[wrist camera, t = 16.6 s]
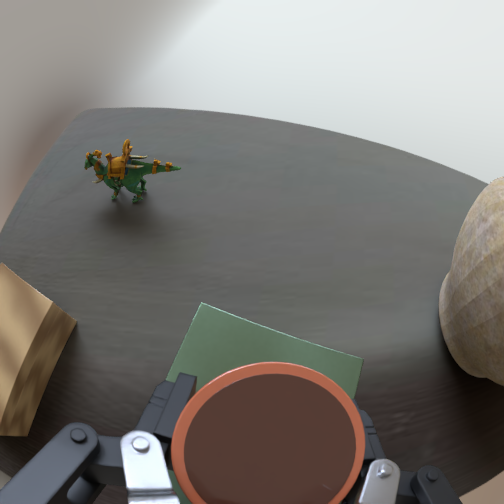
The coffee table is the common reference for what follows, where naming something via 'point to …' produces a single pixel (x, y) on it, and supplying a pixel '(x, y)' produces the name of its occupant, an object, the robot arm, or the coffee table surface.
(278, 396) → the cup
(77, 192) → the coffee table surface
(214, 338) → the green miniature table
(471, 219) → the vase
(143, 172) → the figurine
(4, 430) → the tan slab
